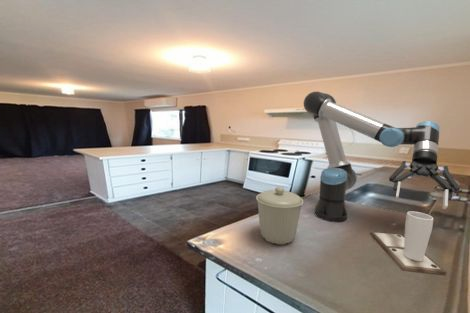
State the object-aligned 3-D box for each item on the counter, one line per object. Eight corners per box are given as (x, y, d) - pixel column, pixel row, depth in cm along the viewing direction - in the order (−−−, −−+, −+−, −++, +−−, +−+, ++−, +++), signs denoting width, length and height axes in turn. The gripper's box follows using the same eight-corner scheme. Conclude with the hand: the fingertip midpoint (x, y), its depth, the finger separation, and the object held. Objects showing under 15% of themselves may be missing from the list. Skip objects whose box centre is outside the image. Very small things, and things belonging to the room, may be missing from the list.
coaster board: (402, 270, 69) (403, 265, 68) (370, 234, 91) (370, 230, 91) (445, 275, 67) (446, 270, 66) (401, 237, 89) (402, 233, 89)
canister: (245, 237, 87) (247, 186, 84) (271, 223, 100) (272, 178, 97) (286, 256, 75) (289, 198, 72) (308, 237, 88) (312, 187, 85)
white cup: (395, 251, 76) (401, 210, 74) (413, 251, 77) (420, 211, 75) (412, 263, 70) (419, 219, 67) (432, 263, 70) (440, 219, 68)
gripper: (465, 164, 83) (464, 216, 75) (386, 155, 98) (378, 198, 90) (472, 153, 78) (472, 207, 70) (388, 146, 92) (379, 190, 84)
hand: (419, 202), depth 80 cm, fingers open, 13 cm apart
